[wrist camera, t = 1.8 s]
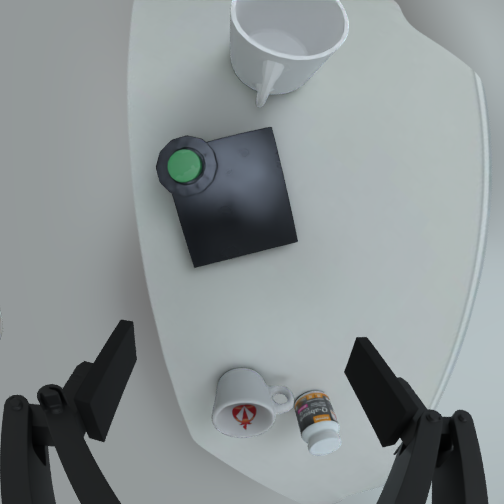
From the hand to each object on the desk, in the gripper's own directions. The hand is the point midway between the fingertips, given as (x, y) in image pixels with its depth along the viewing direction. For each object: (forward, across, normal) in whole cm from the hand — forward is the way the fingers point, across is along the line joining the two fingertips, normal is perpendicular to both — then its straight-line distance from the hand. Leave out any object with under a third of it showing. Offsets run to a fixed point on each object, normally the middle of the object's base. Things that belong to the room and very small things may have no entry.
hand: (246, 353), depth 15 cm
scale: (+18, +2, -7) cm, 20 cm away
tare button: (+16, +6, -10) cm, 20 cm away
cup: (+19, -4, +18) cm, 27 cm away
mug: (+19, -1, -22) cm, 29 cm away
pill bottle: (+19, -14, +23) cm, 33 cm away
